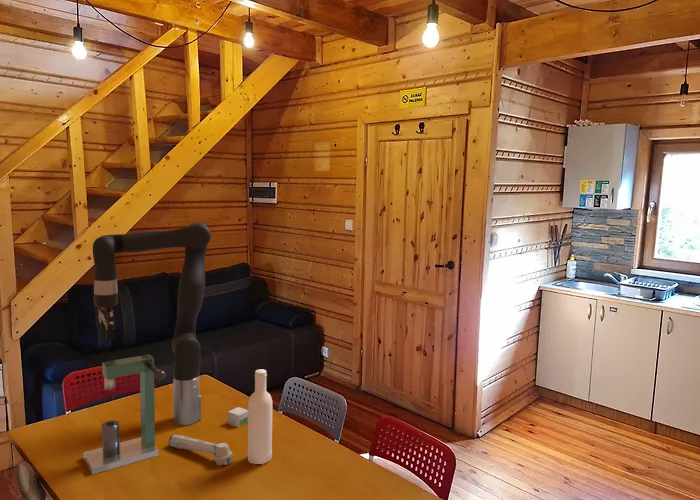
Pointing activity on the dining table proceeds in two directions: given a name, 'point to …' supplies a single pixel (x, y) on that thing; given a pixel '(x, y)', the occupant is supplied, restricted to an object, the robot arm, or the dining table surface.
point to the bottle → (260, 421)
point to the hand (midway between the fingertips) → (107, 336)
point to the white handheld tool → (203, 448)
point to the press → (145, 443)
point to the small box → (238, 417)
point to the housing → (110, 438)
